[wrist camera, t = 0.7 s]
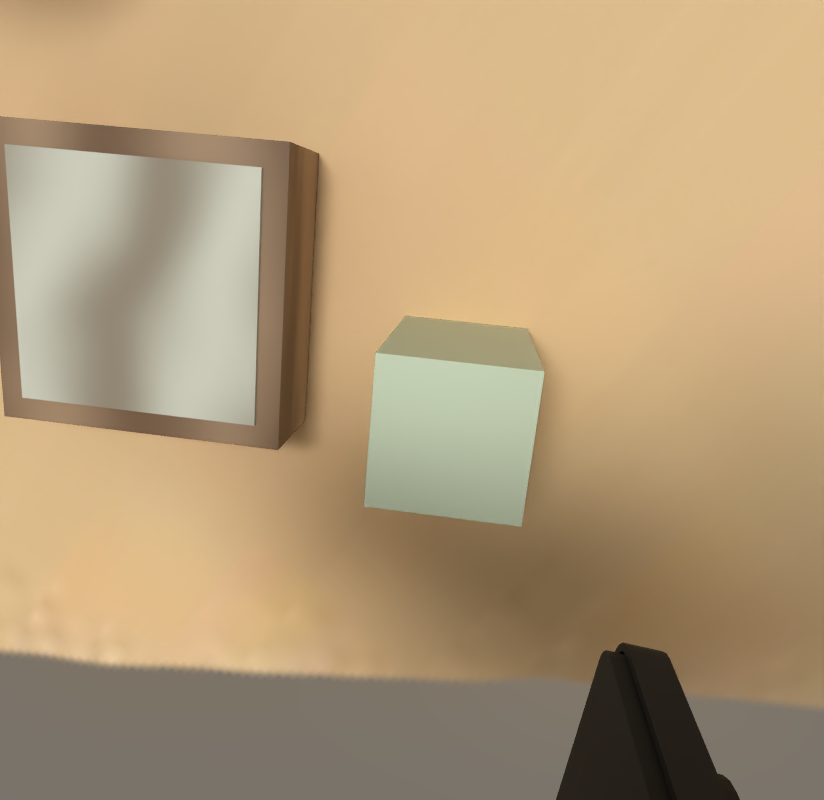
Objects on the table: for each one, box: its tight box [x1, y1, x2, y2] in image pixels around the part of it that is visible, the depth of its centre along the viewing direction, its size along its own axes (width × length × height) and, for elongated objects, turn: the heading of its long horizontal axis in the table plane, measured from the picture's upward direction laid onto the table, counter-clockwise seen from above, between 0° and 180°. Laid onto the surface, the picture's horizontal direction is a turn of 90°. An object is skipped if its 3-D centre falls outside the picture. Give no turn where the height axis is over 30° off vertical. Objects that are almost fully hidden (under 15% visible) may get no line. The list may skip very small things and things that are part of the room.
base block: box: [0, 116, 319, 450], centre depth 26 cm, size 11×11×4 cm
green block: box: [364, 316, 545, 527], centre depth 24 cm, size 5×5×8 cm
